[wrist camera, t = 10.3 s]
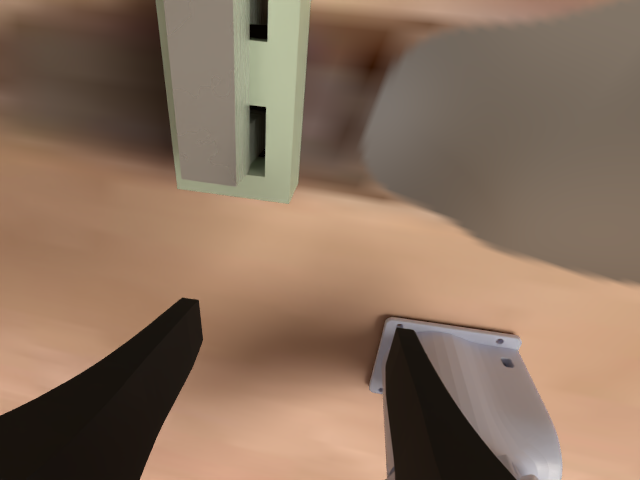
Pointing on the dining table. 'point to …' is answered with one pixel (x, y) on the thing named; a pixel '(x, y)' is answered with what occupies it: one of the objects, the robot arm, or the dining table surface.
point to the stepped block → (214, 87)
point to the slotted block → (263, 103)
